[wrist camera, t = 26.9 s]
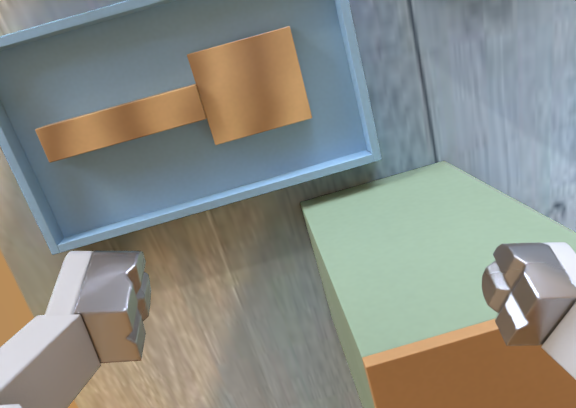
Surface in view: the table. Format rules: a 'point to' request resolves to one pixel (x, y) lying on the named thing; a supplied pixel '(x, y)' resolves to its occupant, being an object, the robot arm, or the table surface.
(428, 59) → the table surface
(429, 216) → the plinth
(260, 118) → the paddle
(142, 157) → the tray
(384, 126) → the table surface
